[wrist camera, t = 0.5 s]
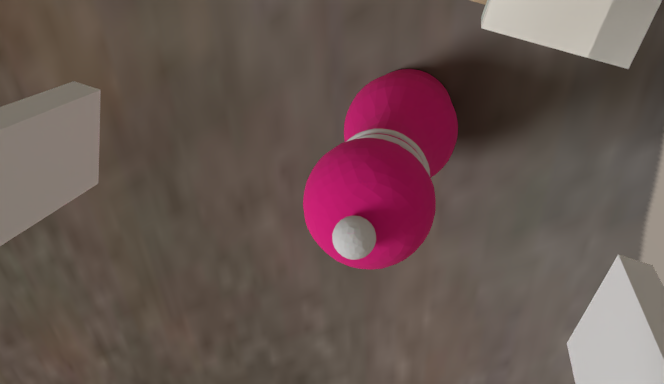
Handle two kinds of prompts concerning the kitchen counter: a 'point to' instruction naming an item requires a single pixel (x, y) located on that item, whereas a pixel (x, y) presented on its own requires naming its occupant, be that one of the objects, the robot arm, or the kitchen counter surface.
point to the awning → (576, 25)
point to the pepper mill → (382, 172)
